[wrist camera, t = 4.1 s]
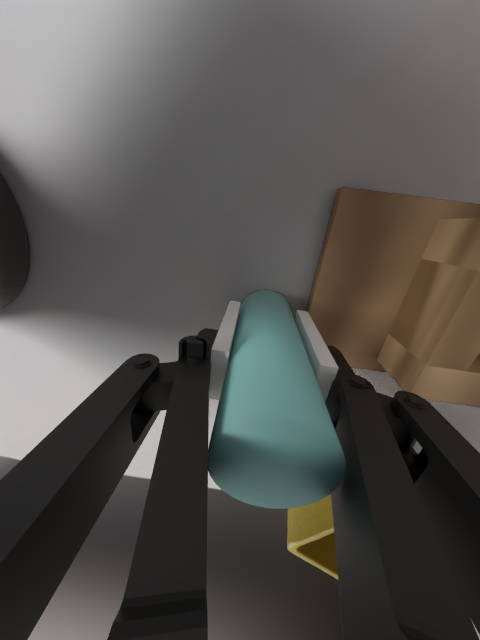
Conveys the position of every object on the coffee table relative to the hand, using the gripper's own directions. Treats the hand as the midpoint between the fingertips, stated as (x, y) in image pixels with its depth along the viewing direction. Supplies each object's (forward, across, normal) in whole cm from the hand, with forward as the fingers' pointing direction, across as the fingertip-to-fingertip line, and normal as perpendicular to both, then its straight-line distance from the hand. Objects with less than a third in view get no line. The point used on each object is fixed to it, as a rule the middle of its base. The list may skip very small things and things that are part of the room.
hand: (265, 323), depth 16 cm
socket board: (+2, +11, +3) cm, 12 cm away
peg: (+2, 0, 0) cm, 2 cm away
